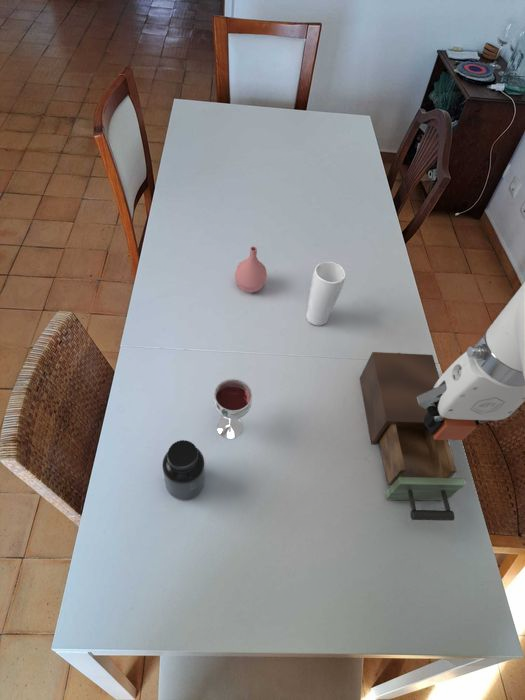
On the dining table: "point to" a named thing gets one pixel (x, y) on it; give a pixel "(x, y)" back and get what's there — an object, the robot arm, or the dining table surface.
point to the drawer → (419, 469)
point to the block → (455, 429)
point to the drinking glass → (324, 291)
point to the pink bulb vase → (251, 273)
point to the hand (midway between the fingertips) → (445, 425)
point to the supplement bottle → (184, 470)
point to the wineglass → (232, 406)
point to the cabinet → (395, 389)
